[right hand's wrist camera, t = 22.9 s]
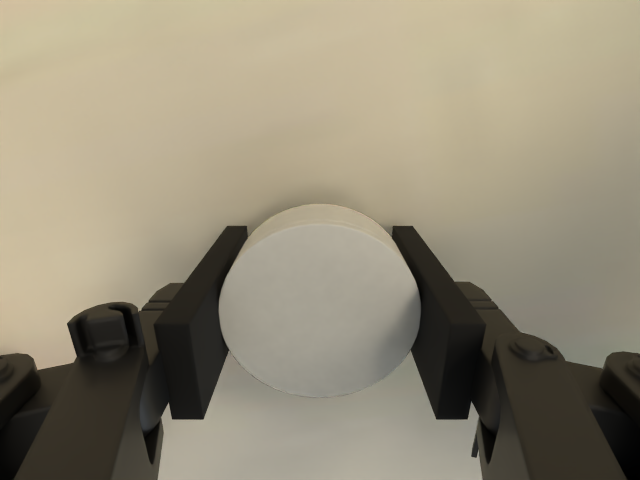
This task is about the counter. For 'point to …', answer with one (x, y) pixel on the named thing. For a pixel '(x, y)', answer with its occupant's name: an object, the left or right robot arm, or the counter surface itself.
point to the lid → (319, 302)
